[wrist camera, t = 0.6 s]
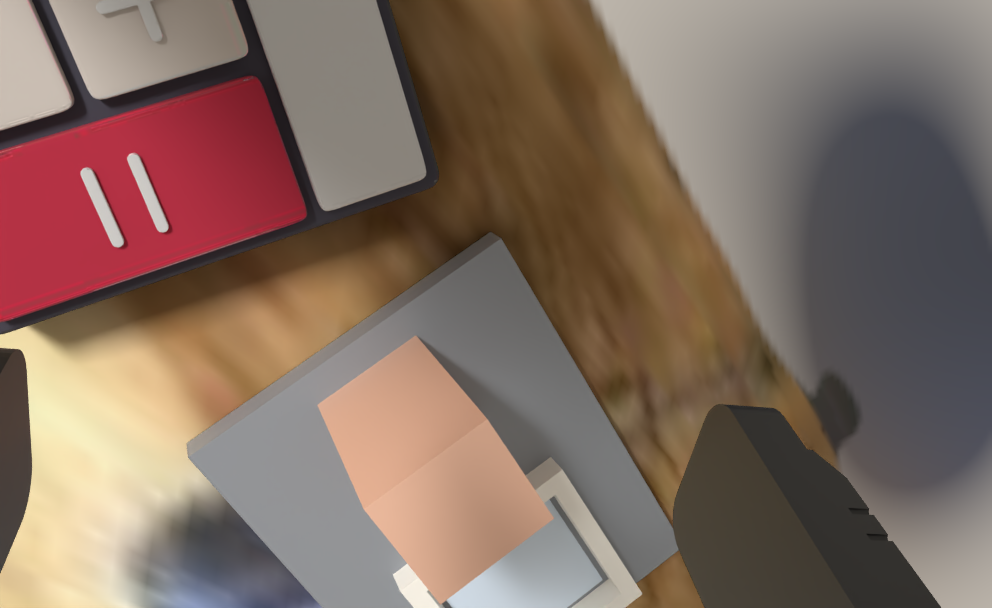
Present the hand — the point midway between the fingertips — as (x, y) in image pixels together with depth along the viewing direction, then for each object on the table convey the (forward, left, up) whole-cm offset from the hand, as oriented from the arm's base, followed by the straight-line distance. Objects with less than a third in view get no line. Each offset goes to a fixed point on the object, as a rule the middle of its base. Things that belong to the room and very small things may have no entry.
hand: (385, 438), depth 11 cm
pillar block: (+11, 0, -22) cm, 25 cm away
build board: (+17, 0, -23) cm, 28 cm away
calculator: (-3, 0, -24) cm, 24 cm away
